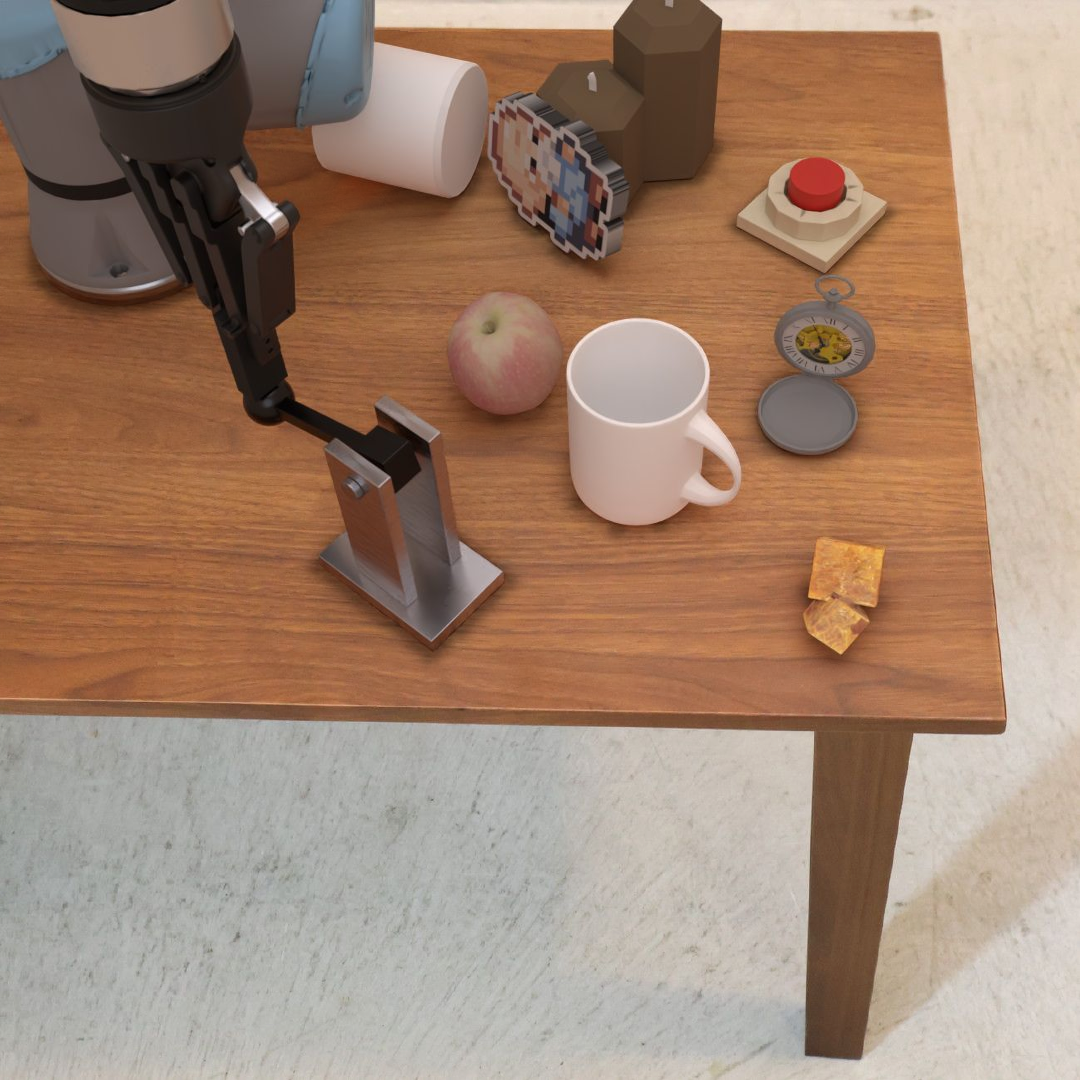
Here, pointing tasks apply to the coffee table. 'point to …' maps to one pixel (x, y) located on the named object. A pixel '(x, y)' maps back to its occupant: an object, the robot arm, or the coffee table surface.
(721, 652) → the coffee table surface
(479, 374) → the apple
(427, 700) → the coffee table surface
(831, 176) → the button
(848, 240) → the housing
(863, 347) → the pocket watch
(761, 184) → the coffee table surface
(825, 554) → the pyrite
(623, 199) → the toy
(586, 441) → the mug
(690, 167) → the candle
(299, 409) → the lever
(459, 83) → the white cylinder
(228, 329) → the robot arm
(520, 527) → the coffee table surface
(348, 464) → the bracket
